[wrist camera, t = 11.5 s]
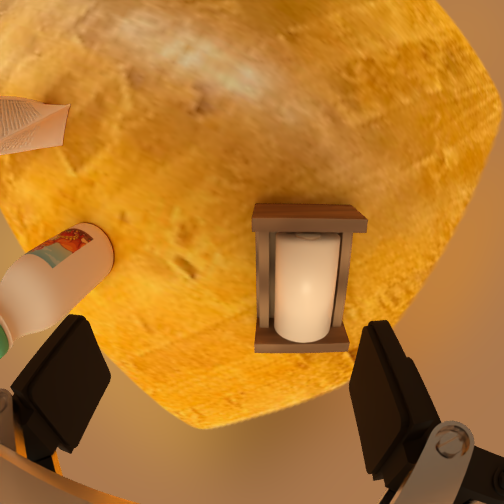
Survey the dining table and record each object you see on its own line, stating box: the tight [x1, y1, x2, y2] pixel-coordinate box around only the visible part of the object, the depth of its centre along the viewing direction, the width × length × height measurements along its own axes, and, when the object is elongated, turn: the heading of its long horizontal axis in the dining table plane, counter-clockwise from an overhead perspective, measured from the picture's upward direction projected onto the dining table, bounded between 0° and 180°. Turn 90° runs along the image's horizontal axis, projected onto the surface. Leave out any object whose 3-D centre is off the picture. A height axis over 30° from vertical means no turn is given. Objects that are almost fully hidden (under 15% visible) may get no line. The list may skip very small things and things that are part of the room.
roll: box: [274, 232, 340, 343], centre depth 29 cm, size 10×6×6 cm, turn 1°
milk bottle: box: [0, 223, 114, 359], centre depth 24 cm, size 8×8×20 cm
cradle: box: [252, 204, 368, 353], centre depth 30 cm, size 14×10×6 cm
